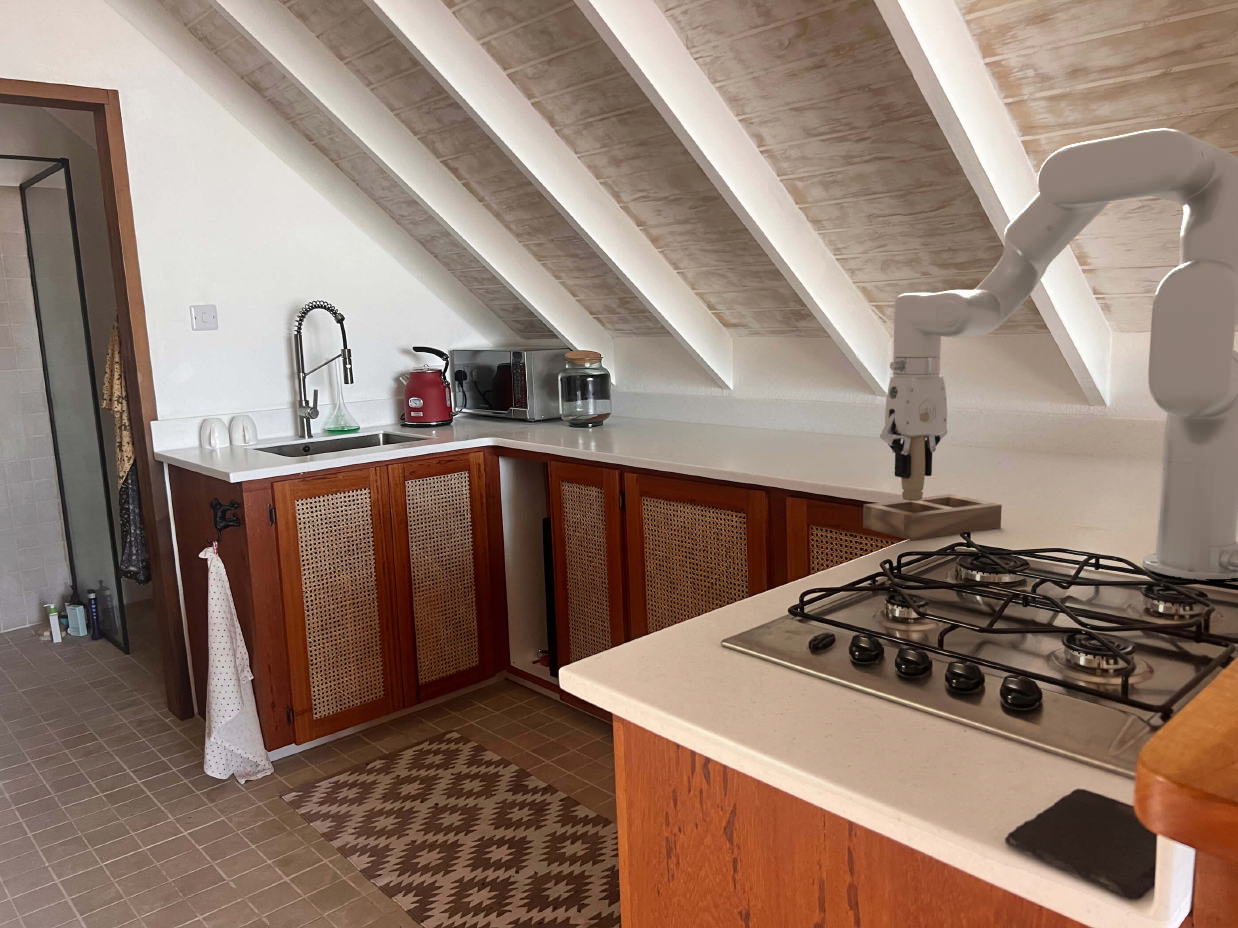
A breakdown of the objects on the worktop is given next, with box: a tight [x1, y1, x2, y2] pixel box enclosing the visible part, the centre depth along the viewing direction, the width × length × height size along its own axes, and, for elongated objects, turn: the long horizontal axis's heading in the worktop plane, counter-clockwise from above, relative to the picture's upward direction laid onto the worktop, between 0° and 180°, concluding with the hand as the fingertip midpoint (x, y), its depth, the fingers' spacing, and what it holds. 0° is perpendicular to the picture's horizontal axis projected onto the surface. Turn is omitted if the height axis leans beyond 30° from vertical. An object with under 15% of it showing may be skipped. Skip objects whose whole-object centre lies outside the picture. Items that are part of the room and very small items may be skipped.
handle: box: [900, 413, 930, 501], centre depth 162 cm, size 5×6×15 cm
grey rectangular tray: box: [862, 493, 1002, 541], centre depth 166 cm, size 12×20×4 cm, turn 116°
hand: (913, 475), depth 163 cm, fingers closed on handle, 4 cm apart
